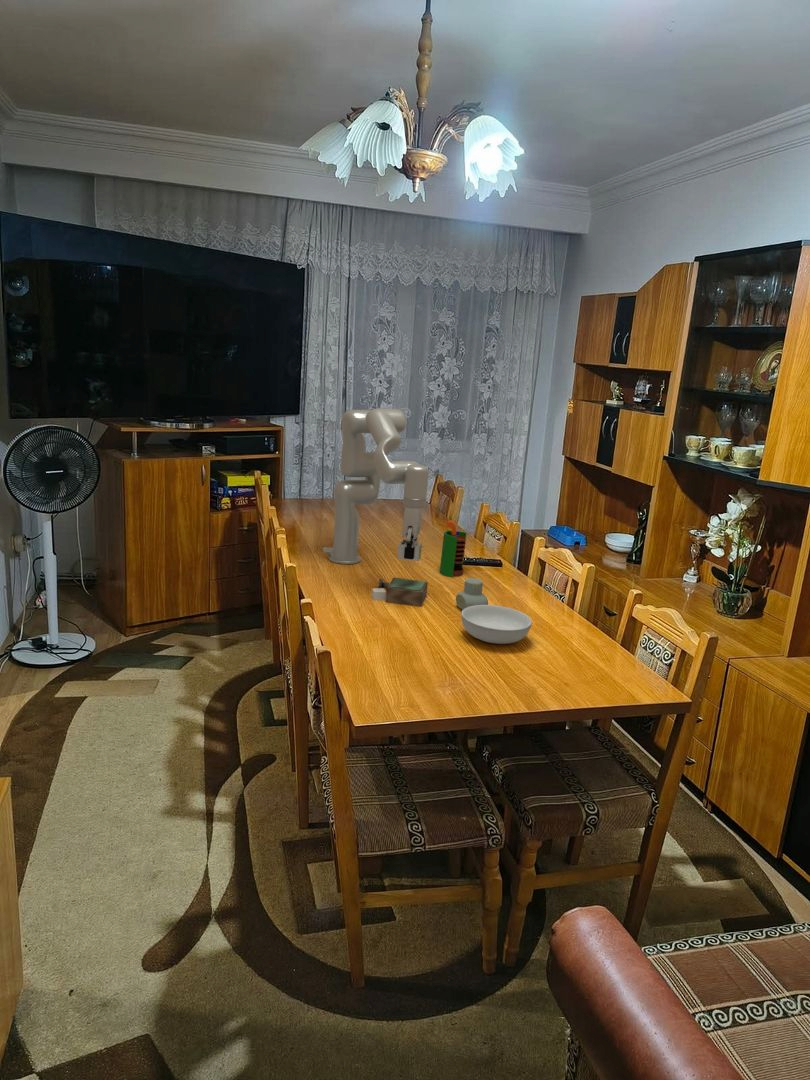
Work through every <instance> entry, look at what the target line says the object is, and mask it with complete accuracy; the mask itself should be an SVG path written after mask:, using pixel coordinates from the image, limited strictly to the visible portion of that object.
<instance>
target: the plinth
mask: <svg viewBox="0 0 810 1080" xmlns="http://www.w3.org/2000/svg"><path fill="white" fill-rule="evenodd" d="M389 583H390V584H389V585H388V587H386V590H385V591H386V600H385V603H388V604H390V603H391V604H396V605H397V604H398V605H403V606H404V605H405V606H412V607H419V608H422V607H423V604H424V602H425V601H426V598H427V596H428V587H429V586H428V585H429V582H428V581H424V580H415V579H408V578H402V577H401V578H399V577H393V578H392V579H391V581H390V582H389Z"/></svg>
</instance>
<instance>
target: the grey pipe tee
mask: <svg viewBox="0 0 810 1080" xmlns="http://www.w3.org/2000/svg"><path fill="white" fill-rule="evenodd" d="M483 584H484V582H483V581H482V580H481V579H479V578H473V577H469V578H466V579H465V580H464V586H463V590H462V591H460V592H459V593H457V594H456V595H455V603H456V605H457V606H458V608H460V609H461V611H463V610H464V609H465V608H467V607H470V606H475V605H489V599H488V597H487V596H486V595H485V594H484V593H483V587H484V586H483Z"/></svg>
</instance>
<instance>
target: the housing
mask: <svg viewBox="0 0 810 1080" xmlns="http://www.w3.org/2000/svg"><path fill="white" fill-rule="evenodd" d="M411 541H412V540H411ZM405 542H406V539H402V540H400V541H399V543H398V544H397V559H398V560H407V561H414V562H419V561H420V559H421V556H422V545H423V543H422V542H419V540H418V539H417V540H414V547H415V549H414V559H405V558H404V550H405Z"/></svg>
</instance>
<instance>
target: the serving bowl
mask: <svg viewBox="0 0 810 1080" xmlns="http://www.w3.org/2000/svg"><path fill="white" fill-rule="evenodd" d="M460 614H461V615H460V617H461V622H462V626H463V627H464V630H466V632H467V633H468V634H469V635H470V636H472V637H473V638H476V639H478V640H480V641H483V642H486V643H491V644H497V645H498V644H500V645H507V644H513V643H517V642H519V641H521V640H523V639H524V638H525V637H527V635H528V634H529V632H530V630H531V628H532V623H533V620H532V619H531V617H530V616H528V615H527V614H526V613H524V612H521V611H519V610H517V609H514V608H511V607H506V606H500V605H494V604H488V605H475V606H470V607H467V608H465V609H464V610H461V613H460Z"/></svg>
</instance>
